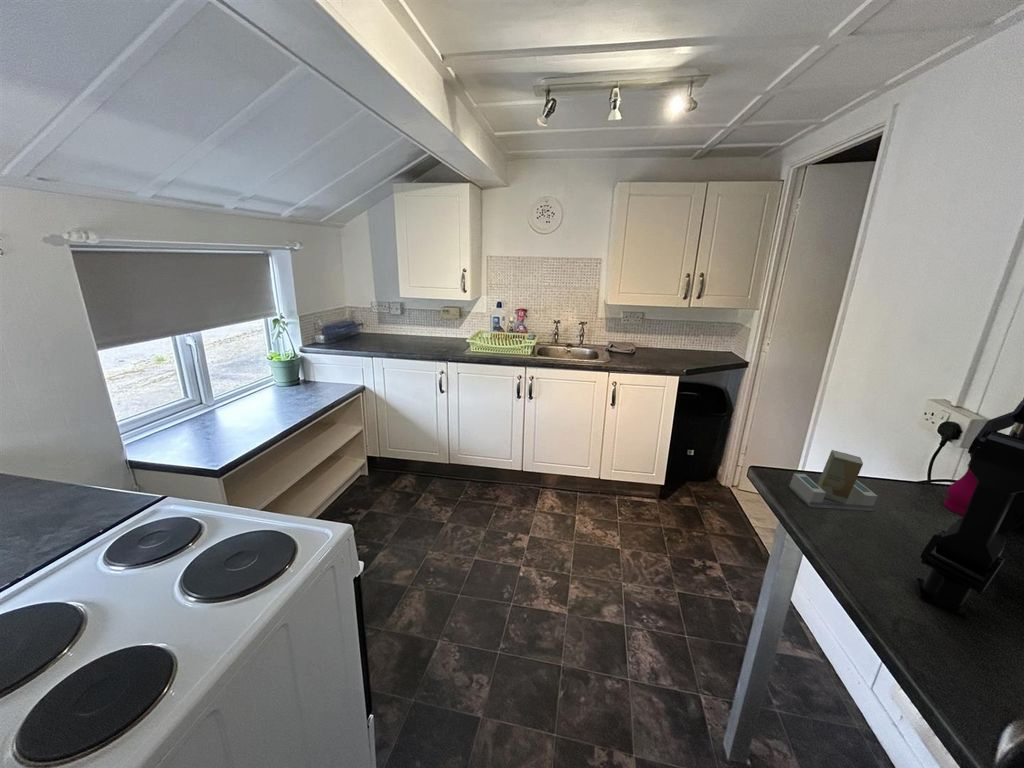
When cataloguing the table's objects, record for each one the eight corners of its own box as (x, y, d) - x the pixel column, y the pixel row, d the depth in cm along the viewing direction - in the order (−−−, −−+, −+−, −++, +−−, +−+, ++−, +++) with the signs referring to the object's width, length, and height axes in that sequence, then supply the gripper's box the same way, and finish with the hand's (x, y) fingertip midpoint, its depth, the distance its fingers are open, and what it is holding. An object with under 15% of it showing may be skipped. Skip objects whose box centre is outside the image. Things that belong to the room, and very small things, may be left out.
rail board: (846, 490, 114) (848, 485, 113) (872, 511, 105) (874, 506, 105) (788, 486, 114) (789, 482, 113) (809, 507, 105) (811, 502, 105)
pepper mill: (962, 502, 111) (997, 437, 104) (988, 520, 104) (1027, 451, 97) (933, 499, 111) (966, 434, 104) (957, 517, 105) (994, 448, 98)
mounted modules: (848, 488, 113) (853, 476, 112) (872, 507, 105) (878, 495, 104) (789, 484, 113) (794, 472, 112) (809, 503, 105) (814, 491, 104)
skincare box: (817, 496, 109) (832, 456, 104) (815, 488, 112) (830, 448, 108) (847, 504, 106) (864, 463, 101) (844, 496, 109) (860, 456, 105)
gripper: (1130, 492, 66) (1077, 568, 71) (1078, 448, 80) (1037, 514, 85) (1027, 467, 72) (985, 538, 77) (995, 430, 86) (962, 493, 91)
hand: (994, 520), depth 83 cm, fingers open, 9 cm apart
